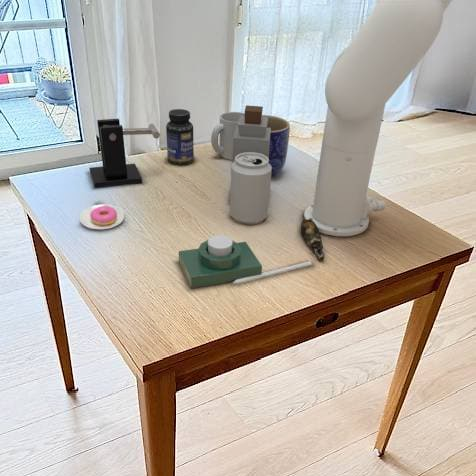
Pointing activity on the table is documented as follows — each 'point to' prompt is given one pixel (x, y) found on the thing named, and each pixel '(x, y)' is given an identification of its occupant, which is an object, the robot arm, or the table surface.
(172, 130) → the pill bottle
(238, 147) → the perfume bottle
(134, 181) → the lever bracket
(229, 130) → the cup
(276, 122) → the planter
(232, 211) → the can
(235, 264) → the button block
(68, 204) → the table surface
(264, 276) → the pencil
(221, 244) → the flush button
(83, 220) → the donut
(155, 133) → the flush lever
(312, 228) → the bird model
